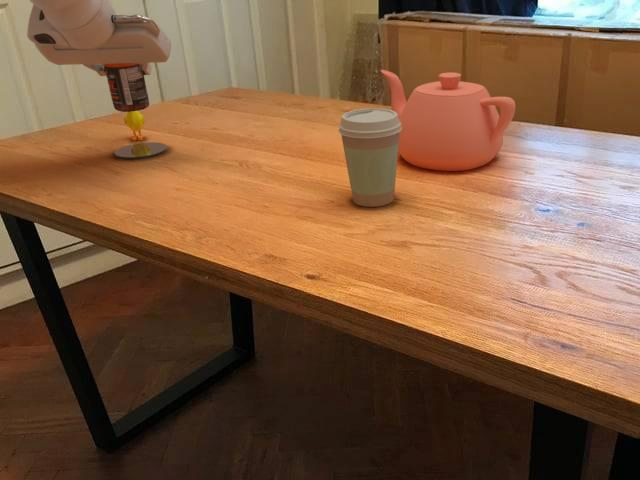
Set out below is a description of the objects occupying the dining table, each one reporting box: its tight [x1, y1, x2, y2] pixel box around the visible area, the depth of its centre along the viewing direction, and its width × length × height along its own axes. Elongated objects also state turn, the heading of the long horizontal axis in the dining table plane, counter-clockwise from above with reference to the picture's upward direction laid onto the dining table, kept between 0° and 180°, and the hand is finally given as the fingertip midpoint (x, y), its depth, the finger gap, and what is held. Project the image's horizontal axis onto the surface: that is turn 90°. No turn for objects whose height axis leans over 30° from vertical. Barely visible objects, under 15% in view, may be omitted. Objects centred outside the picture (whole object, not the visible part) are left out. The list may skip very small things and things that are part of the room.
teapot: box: [380, 69, 517, 172], centre depth 107 cm, size 25×17×13 cm
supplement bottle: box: [104, 63, 150, 113], centre depth 112 cm, size 6×6×11 cm
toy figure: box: [123, 111, 146, 142], centre depth 123 cm, size 7×4×12 cm, turn 9°
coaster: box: [114, 141, 169, 160], centre depth 118 cm, size 9×9×1 cm
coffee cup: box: [338, 107, 402, 208], centre depth 91 cm, size 8×8×12 cm
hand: (126, 72), depth 112 cm, fingers closed on supplement bottle, 6 cm apart
